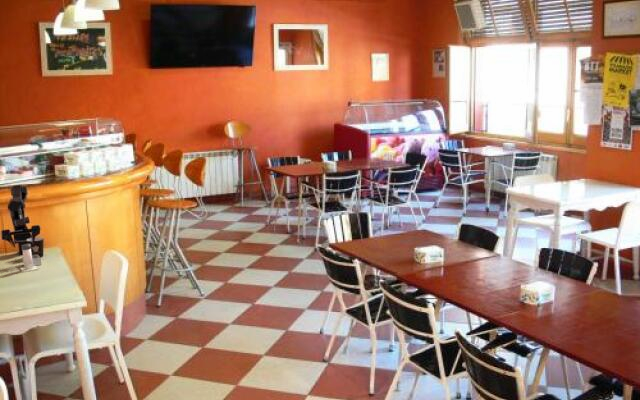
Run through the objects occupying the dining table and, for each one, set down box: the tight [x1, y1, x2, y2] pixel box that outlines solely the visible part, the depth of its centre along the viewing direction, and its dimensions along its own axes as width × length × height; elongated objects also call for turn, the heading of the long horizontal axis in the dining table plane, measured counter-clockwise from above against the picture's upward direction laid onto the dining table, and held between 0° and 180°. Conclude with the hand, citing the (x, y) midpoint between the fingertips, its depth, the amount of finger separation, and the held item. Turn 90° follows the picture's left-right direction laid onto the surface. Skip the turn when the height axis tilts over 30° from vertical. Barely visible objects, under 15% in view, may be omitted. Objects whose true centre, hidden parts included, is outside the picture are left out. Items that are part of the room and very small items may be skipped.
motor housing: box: [21, 254, 42, 267], centre depth 348 cm, size 8×8×4 cm
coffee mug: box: [20, 236, 45, 258], centre depth 362 cm, size 12×9×10 cm
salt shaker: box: [22, 244, 33, 270], centre depth 339 cm, size 4×4×12 cm
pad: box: [19, 266, 39, 273], centre depth 340 cm, size 8×8×1 cm
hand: (24, 245), depth 343 cm, fingers open, 9 cm apart
